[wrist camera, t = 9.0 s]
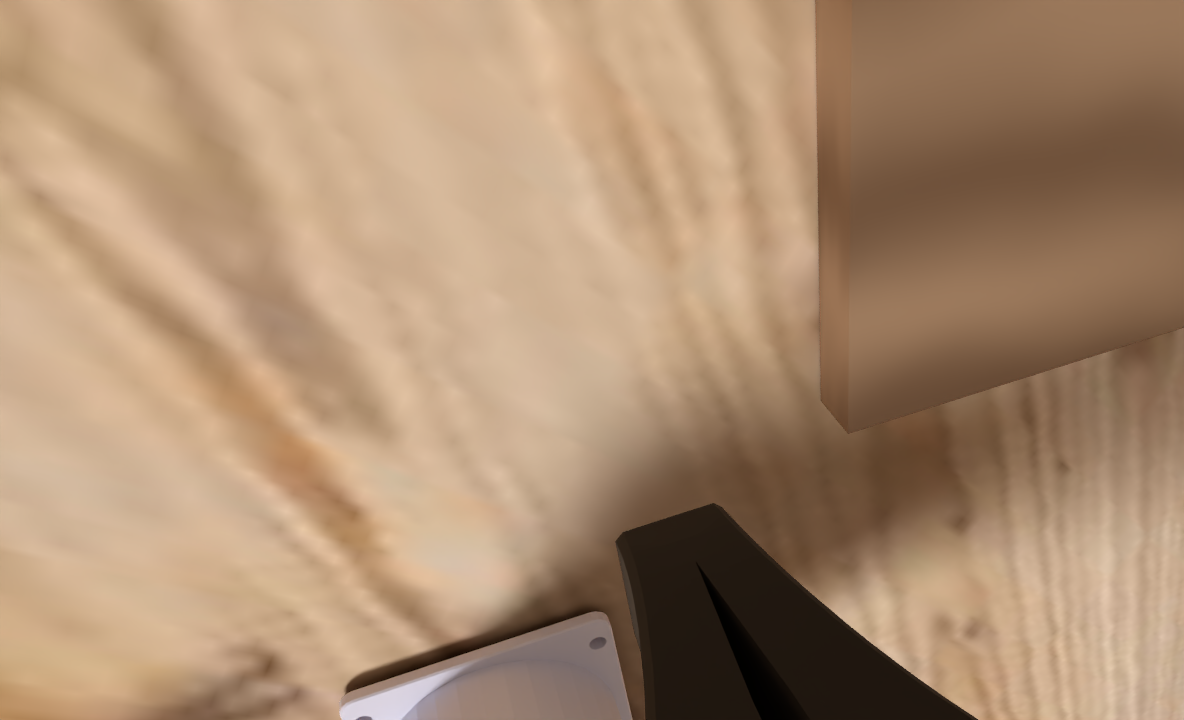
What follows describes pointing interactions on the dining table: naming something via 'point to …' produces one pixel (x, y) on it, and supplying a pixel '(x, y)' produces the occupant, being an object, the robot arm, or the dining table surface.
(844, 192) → the walnut board
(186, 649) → the dining table surface
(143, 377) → the dining table surface
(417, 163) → the dining table surface
